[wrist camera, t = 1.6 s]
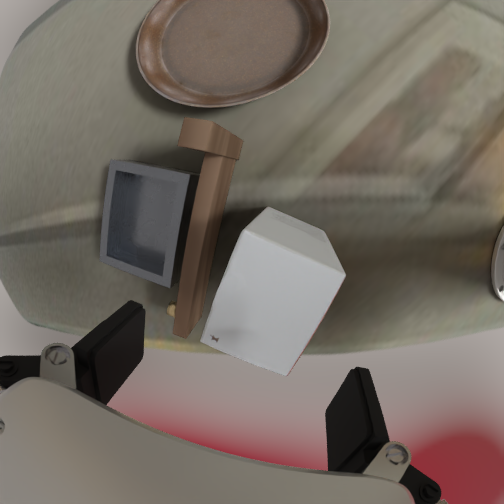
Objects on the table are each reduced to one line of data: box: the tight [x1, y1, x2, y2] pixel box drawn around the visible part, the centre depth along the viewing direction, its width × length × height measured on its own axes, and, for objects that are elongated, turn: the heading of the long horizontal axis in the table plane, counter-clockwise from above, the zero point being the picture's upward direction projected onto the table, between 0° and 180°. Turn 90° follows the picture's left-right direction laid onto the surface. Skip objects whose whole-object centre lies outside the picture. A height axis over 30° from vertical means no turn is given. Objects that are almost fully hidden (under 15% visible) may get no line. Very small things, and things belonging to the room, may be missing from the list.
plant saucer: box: [136, 0, 330, 108], centre depth 21 cm, size 21×21×3 cm
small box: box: [200, 207, 346, 376], centre depth 21 cm, size 8×6×13 cm
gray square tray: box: [100, 159, 200, 288], centre depth 27 cm, size 10×12×4 cm
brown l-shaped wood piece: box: [167, 117, 243, 338], centre depth 24 cm, size 3×20×10 cm, turn 165°
